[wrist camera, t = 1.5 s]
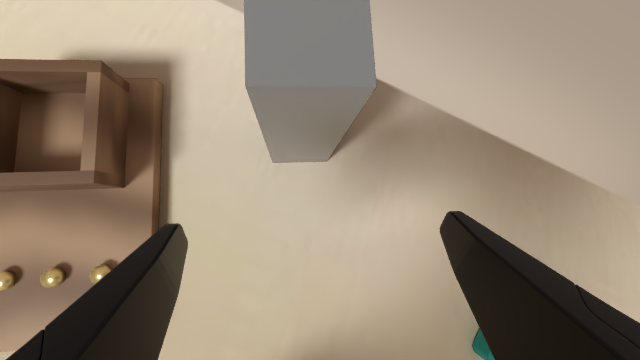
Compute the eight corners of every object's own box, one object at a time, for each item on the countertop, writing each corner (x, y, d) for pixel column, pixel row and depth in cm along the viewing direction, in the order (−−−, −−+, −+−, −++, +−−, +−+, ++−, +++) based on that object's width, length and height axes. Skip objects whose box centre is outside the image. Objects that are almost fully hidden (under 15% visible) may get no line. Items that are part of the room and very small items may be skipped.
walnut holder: (155, 330, 19) (119, 361, 15) (-35, 348, 17) (-130, 388, 13) (162, 84, 21) (133, 55, 17) (-4, 83, 20) (-77, 50, 16)
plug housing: (326, 161, 22) (376, 86, 9) (272, 162, 21) (245, 85, 9) (324, 110, 22) (367, -27, 10) (271, 110, 22) (243, -35, 9)
